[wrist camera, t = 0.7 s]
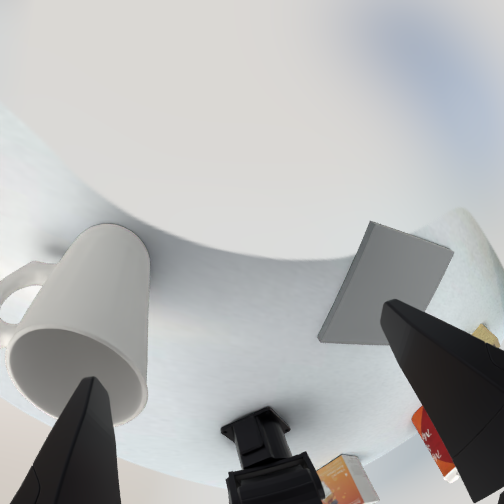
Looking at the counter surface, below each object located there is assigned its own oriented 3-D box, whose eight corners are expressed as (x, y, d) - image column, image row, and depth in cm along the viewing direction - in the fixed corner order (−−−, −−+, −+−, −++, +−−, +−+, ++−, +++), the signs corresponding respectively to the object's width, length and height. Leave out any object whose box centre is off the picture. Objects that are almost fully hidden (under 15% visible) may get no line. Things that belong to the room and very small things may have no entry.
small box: (341, 453, 43) (366, 502, 34) (357, 455, 46) (381, 500, 36) (306, 476, 45) (325, 524, 35) (324, 477, 47) (343, 521, 38)
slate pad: (449, 248, 29) (454, 252, 29) (401, 341, 33) (404, 345, 33) (370, 220, 25) (375, 224, 25) (317, 337, 29) (320, 342, 29)
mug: (163, 230, 22) (158, 344, 11) (146, 308, 24) (141, 437, 14) (33, 202, 19) (-62, 287, 8) (30, 283, 21) (-31, 392, 10)
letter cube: (485, 332, 40) (500, 346, 36) (469, 350, 40) (483, 365, 37) (480, 323, 38) (497, 337, 34) (464, 343, 39) (479, 358, 35)
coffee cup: (398, 423, 44) (441, 487, 31) (434, 390, 42) (483, 452, 29) (416, 427, 47) (454, 483, 34) (448, 397, 46) (491, 452, 33)
